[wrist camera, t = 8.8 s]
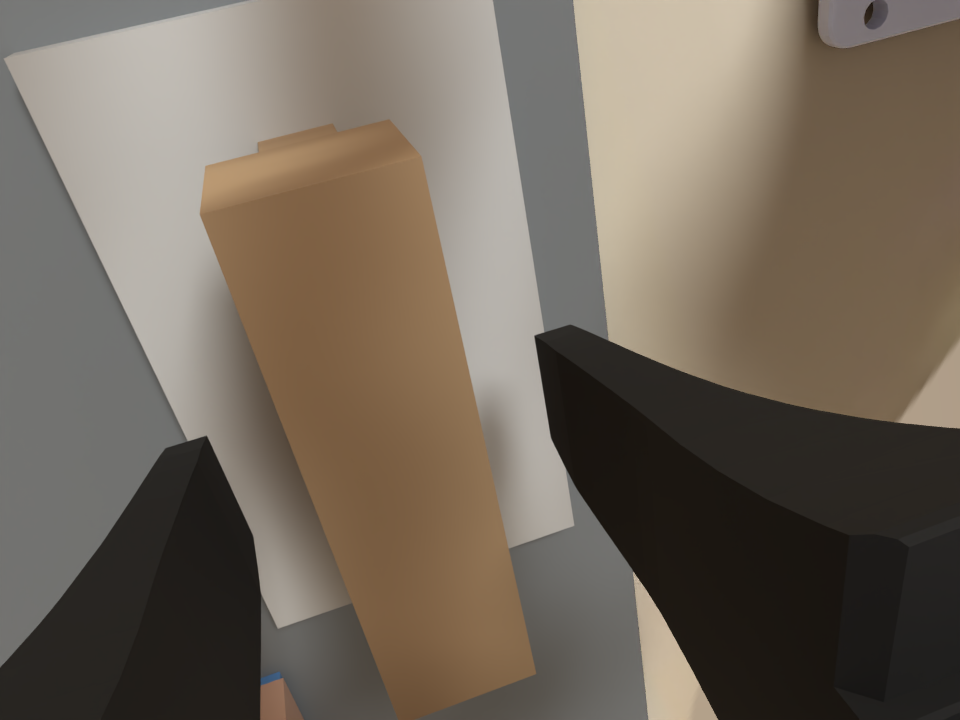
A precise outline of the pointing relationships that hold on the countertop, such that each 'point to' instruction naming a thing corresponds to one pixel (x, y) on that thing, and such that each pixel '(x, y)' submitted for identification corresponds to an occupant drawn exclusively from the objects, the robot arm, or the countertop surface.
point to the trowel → (333, 302)
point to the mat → (153, 427)
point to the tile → (277, 700)
